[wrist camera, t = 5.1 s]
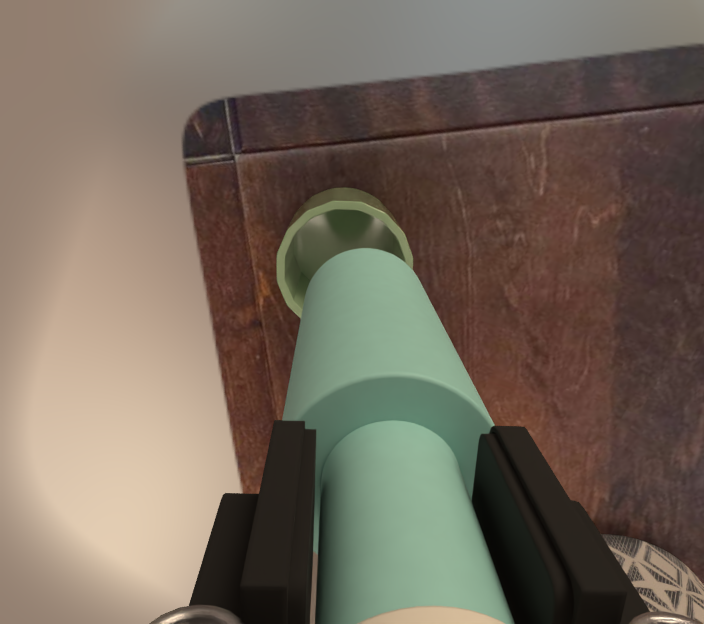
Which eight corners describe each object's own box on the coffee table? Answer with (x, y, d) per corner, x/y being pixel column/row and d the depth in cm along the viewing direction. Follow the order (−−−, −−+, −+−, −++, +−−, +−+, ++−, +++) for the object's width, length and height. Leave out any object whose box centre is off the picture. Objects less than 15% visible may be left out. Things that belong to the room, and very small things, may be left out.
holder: (288, 185, 34) (276, 198, 28) (401, 189, 34) (417, 203, 28) (287, 295, 36) (276, 332, 30) (395, 298, 36) (408, 336, 30)
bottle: (305, 245, 21) (193, 674, 5) (429, 249, 21) (742, 679, 5) (303, 361, 22) (210, 1007, 6) (419, 364, 22) (638, 1003, 6)
